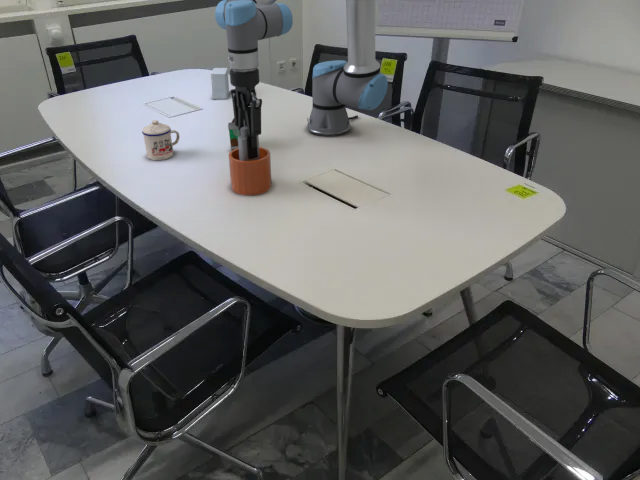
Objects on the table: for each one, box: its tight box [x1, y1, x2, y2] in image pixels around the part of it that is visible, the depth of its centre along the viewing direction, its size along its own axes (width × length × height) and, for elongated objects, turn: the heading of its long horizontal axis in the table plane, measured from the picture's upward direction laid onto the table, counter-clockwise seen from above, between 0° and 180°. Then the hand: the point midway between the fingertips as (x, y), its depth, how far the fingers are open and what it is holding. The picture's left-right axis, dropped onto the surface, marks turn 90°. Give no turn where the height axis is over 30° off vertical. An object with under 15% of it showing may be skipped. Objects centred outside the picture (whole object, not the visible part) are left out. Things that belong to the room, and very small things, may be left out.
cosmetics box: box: [210, 67, 230, 100], centre depth 228 cm, size 10×6×10 cm, turn 179°
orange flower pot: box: [228, 146, 272, 196], centre depth 152 cm, size 12×12×10 cm
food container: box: [227, 118, 240, 152], centre depth 179 cm, size 12×6×10 cm, turn 168°
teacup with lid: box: [141, 119, 181, 161], centre depth 174 cm, size 12×9×12 cm
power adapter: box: [238, 120, 260, 161], centre depth 147 cm, size 3×5×12 cm, turn 121°
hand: (249, 155), depth 150 cm, fingers closed on power adapter, 3 cm apart
